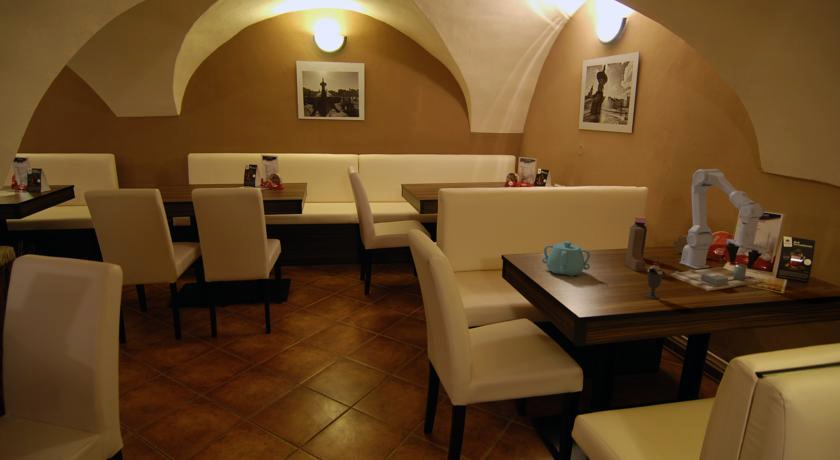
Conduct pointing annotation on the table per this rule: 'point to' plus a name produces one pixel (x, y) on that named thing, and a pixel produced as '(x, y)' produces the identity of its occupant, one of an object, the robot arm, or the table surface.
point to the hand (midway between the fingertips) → (740, 264)
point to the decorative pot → (566, 259)
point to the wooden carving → (681, 243)
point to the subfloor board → (695, 276)
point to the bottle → (641, 222)
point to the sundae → (654, 279)
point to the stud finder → (714, 279)
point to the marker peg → (739, 272)
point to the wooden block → (635, 249)
